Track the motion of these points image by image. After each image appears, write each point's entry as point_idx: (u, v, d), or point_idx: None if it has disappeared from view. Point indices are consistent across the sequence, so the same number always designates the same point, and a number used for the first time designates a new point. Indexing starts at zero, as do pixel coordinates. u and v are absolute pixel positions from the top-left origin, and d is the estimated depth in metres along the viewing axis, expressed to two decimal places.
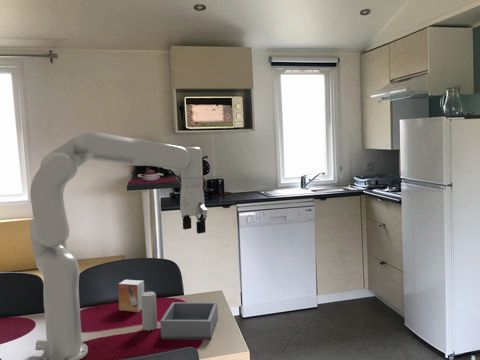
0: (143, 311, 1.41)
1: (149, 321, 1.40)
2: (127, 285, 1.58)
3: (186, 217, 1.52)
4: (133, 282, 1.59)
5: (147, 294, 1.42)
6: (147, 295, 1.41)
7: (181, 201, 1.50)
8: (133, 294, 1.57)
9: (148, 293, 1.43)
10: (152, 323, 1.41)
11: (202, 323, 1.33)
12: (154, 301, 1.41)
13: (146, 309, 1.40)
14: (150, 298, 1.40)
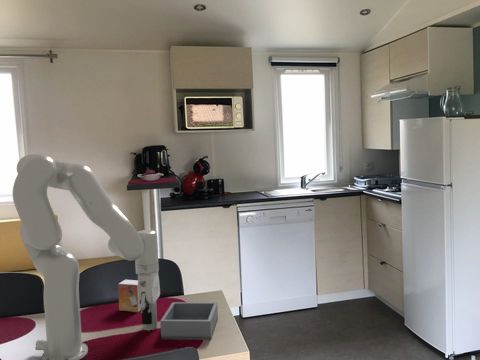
0: None
1: None
2: (127, 285, 1.58)
3: None
4: (133, 282, 1.59)
5: None
6: None
7: (153, 290, 1.38)
8: (133, 294, 1.57)
9: None
10: (152, 323, 1.41)
11: (202, 323, 1.33)
12: None
13: None
14: None
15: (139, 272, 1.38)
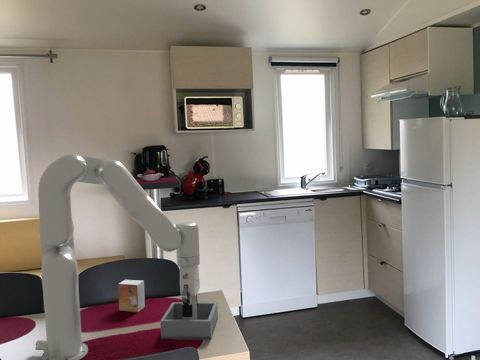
0: None
1: (190, 318, 1.39)
2: (127, 285, 1.58)
3: None
4: (133, 282, 1.59)
5: None
6: None
7: (195, 283, 1.37)
8: (133, 294, 1.57)
9: None
10: None
11: (202, 323, 1.33)
12: (195, 298, 1.40)
13: None
14: None
15: (181, 264, 1.37)
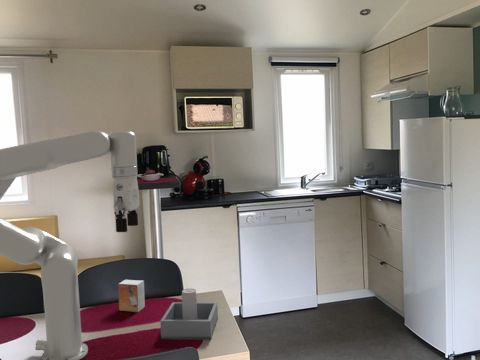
0: (184, 308, 1.39)
1: (190, 318, 1.39)
2: (127, 285, 1.58)
3: None
4: (133, 282, 1.59)
5: (188, 291, 1.40)
6: (187, 292, 1.40)
7: (130, 196, 1.25)
8: (133, 294, 1.57)
9: (188, 290, 1.41)
10: None
11: (202, 323, 1.33)
12: (195, 298, 1.40)
13: (187, 306, 1.39)
14: (191, 295, 1.39)
15: (115, 175, 1.25)
